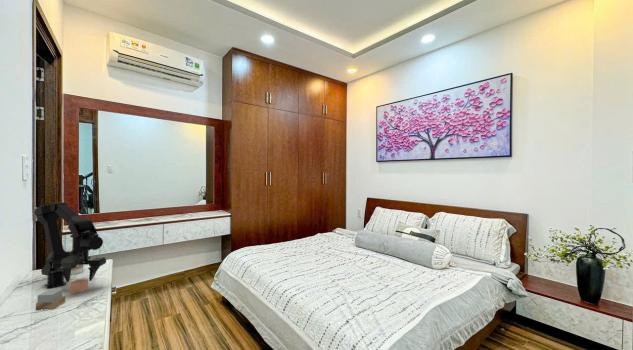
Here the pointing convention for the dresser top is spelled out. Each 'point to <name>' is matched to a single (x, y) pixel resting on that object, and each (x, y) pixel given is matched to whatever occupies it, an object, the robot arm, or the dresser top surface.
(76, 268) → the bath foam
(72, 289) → the terracotta cube
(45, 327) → the dresser top surface
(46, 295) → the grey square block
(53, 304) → the walnut base block
